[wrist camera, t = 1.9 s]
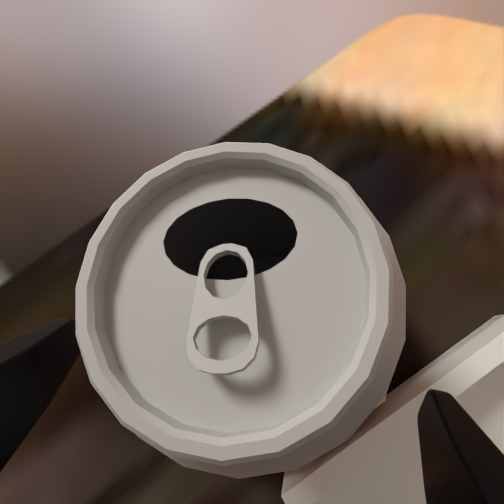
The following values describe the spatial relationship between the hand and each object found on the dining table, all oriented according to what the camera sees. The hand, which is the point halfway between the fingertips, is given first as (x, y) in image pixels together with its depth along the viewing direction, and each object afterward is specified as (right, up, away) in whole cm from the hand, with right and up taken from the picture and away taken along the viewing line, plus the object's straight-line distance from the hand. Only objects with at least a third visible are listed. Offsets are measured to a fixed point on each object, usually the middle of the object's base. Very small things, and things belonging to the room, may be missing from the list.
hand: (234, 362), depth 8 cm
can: (+2, -1, +9) cm, 10 cm away
